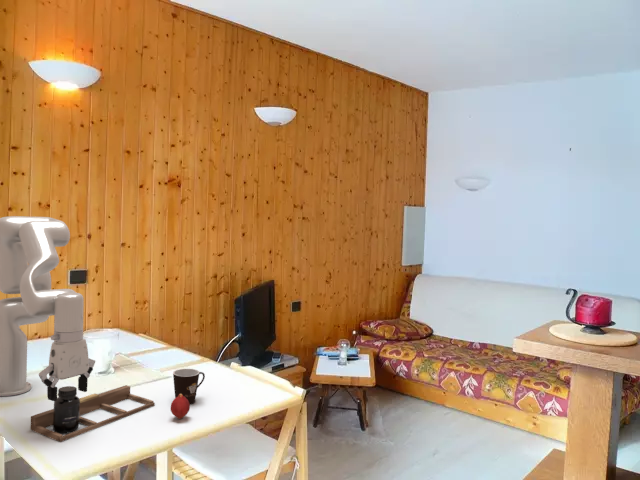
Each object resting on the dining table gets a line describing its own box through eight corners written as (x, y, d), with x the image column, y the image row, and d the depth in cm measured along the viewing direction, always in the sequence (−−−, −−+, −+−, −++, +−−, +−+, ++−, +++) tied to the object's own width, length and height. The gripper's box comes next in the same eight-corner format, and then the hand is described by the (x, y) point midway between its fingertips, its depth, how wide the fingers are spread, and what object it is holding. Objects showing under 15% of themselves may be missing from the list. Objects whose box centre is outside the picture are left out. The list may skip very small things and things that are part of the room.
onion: (172, 414, 172) (173, 390, 172) (190, 415, 173) (191, 390, 172) (168, 422, 166) (169, 396, 166) (187, 422, 167) (188, 397, 166)
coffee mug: (175, 407, 178) (176, 377, 178) (169, 398, 186) (170, 369, 185) (210, 403, 184) (211, 374, 183) (203, 394, 191) (204, 366, 191)
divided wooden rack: (30, 429, 156) (30, 414, 156) (125, 396, 186) (126, 383, 185) (60, 442, 149) (61, 425, 149) (154, 405, 179) (155, 391, 179)
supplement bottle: (68, 435, 153) (70, 394, 153) (47, 432, 155) (48, 391, 154) (84, 426, 160) (85, 386, 159) (63, 423, 162) (64, 383, 161)
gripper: (48, 344, 146) (48, 406, 147) (103, 332, 161) (102, 390, 162) (31, 340, 150) (31, 401, 151) (86, 329, 165) (85, 385, 166)
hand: (67, 395), depth 156 cm, fingers open, 9 cm apart
